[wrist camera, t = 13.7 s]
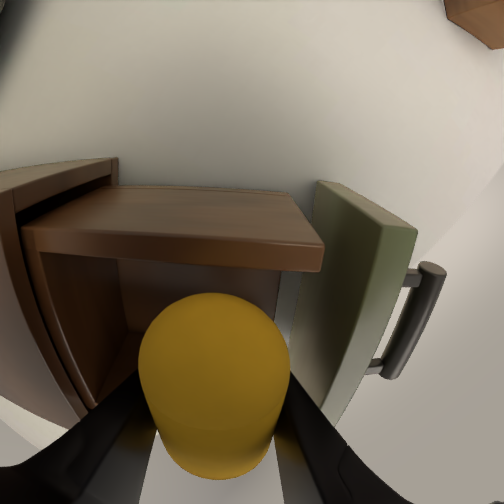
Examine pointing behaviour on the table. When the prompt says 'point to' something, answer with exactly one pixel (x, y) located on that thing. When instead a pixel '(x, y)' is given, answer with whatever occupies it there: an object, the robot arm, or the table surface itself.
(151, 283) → the drawer
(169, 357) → the yellow capsule toy
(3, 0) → the bowl
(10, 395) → the cabinet
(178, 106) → the table surface
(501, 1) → the stand
